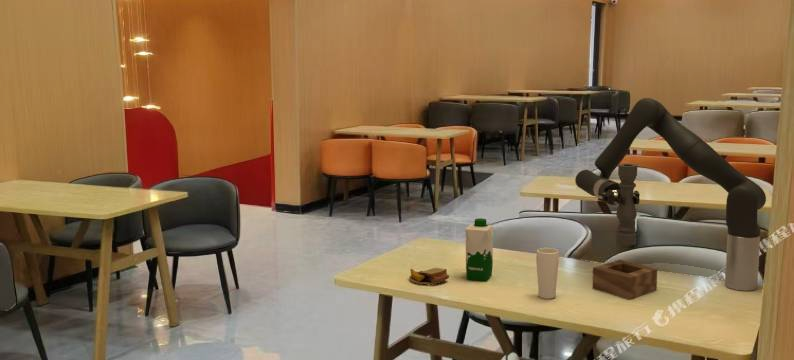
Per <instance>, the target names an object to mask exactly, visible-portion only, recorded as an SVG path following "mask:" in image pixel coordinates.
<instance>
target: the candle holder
mask: <svg viewBox="0 0 794 360" xmlns="http://www.w3.org/2000/svg"><path fill="white" fill-rule="evenodd" d="M617 176H618V179H619V181H620V182H618V183H619V187H620V188H621V197H623V198H625V205H621V204H619V203H618V204H617V205H618V206H617V209H616V214H615V215H616V217H617V220H618V226H616V230H617V231H615V243H616V244H617V245H620V246H625V247H626V246H636V244H637V232H636V227H635V225H634V223H635V220H636V218H637V207H636V204H634V198H633V195H634V191H635V190H634V189H635V188H636V187H637V184H636V183H635V180H636V179H637V176H638V164H634V163H619V165H618V166H617Z"/></svg>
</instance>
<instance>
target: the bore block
mask: <svg viewBox="0 0 794 360" xmlns="http://www.w3.org/2000/svg"><path fill="white" fill-rule="evenodd" d="M657 288H658V268H654V267H652V266H647V265H644V264H639V263H636V262H632V261H631V262H630V261H627V260H623V259H618V260H614V261H611V262H607V263H604V264H600V265H598V266H597V265H596V266H594V267H592V289H593V290H596V291H599V292H603V293H605V292H606V294H609V295H612V296H616V297H619V298H622V299H626V300H633V299H636V298H638V297H641V296H644V295H646V294H649V293H650V294H651V293H653V292H655V291H657Z"/></svg>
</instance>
